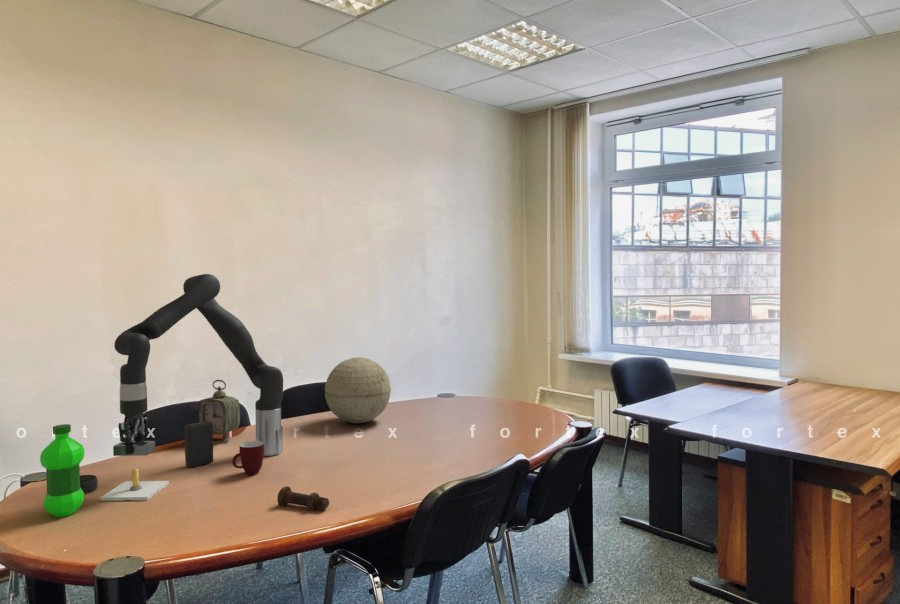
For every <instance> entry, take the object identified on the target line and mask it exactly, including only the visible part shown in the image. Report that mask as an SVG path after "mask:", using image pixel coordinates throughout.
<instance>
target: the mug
mask: <svg viewBox="0 0 900 604" xmlns="http://www.w3.org/2000/svg"><path fill="white" fill-rule="evenodd" d="M238 451H239V453H236V454H235V455H234V456H233V458H232V460H231V461H232V465H233V467H234V468H236V469H243V471H244V473H246V475H248V476H254V475H257V474H259V472H260V471H261V469H262V467H263V463H264V458H265V456H264V442H262V441H256V440H250V441H245V442H242V443H240V444H239V450H238ZM238 458H240V461H241V465H237V459H238Z"/></svg>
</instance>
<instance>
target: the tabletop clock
mask: <svg viewBox="0 0 900 604" xmlns="http://www.w3.org/2000/svg"><path fill="white" fill-rule="evenodd" d="M217 382H220V383H223V385H224V387H221V386H218V387H216V386H215V383H217ZM226 387H227V383H226V382H225V381H224V380H222V379H215V380H214V381H213V382H212V388H213V389H214V390H216V391H215V392H214V393H213V394H212V396H210V397H207V398H203V399H200V400H199V403H198V404H199V405H198V422H204V421H211V422H212V423H213V435H222V439H223V438H225V439H223V441H224V443H225V444H226V443H229V439H228V433H230V432H233V431H235V430H237V429H238V428H239V426H240V423H241V407H240V406H241V405H240V401H239V399H238V398H235V397H234V396H229V395H227V393H226V391H224V390H225V389H226Z"/></svg>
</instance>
